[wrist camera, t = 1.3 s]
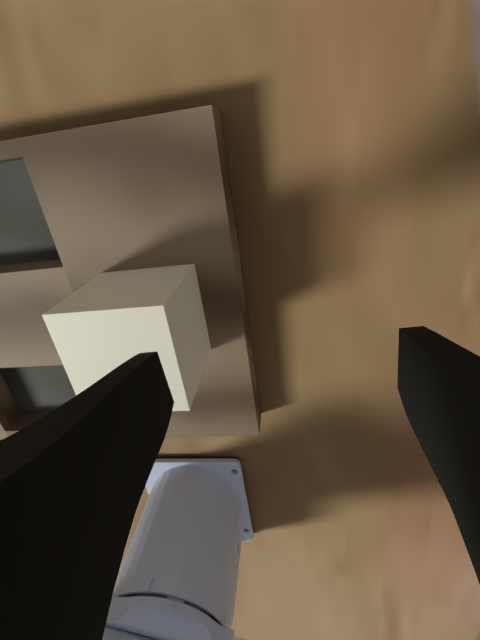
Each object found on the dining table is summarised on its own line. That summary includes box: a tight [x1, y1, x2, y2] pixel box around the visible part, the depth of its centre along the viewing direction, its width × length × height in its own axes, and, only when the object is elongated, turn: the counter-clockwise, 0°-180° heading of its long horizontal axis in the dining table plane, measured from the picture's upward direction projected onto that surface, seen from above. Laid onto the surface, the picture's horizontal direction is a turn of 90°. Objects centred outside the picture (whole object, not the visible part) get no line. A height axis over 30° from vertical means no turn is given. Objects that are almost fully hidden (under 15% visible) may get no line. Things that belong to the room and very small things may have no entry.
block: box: [42, 264, 211, 411], centre depth 16 cm, size 5×5×5 cm
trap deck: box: [0, 105, 261, 439], centre depth 20 cm, size 18×25×4 cm
